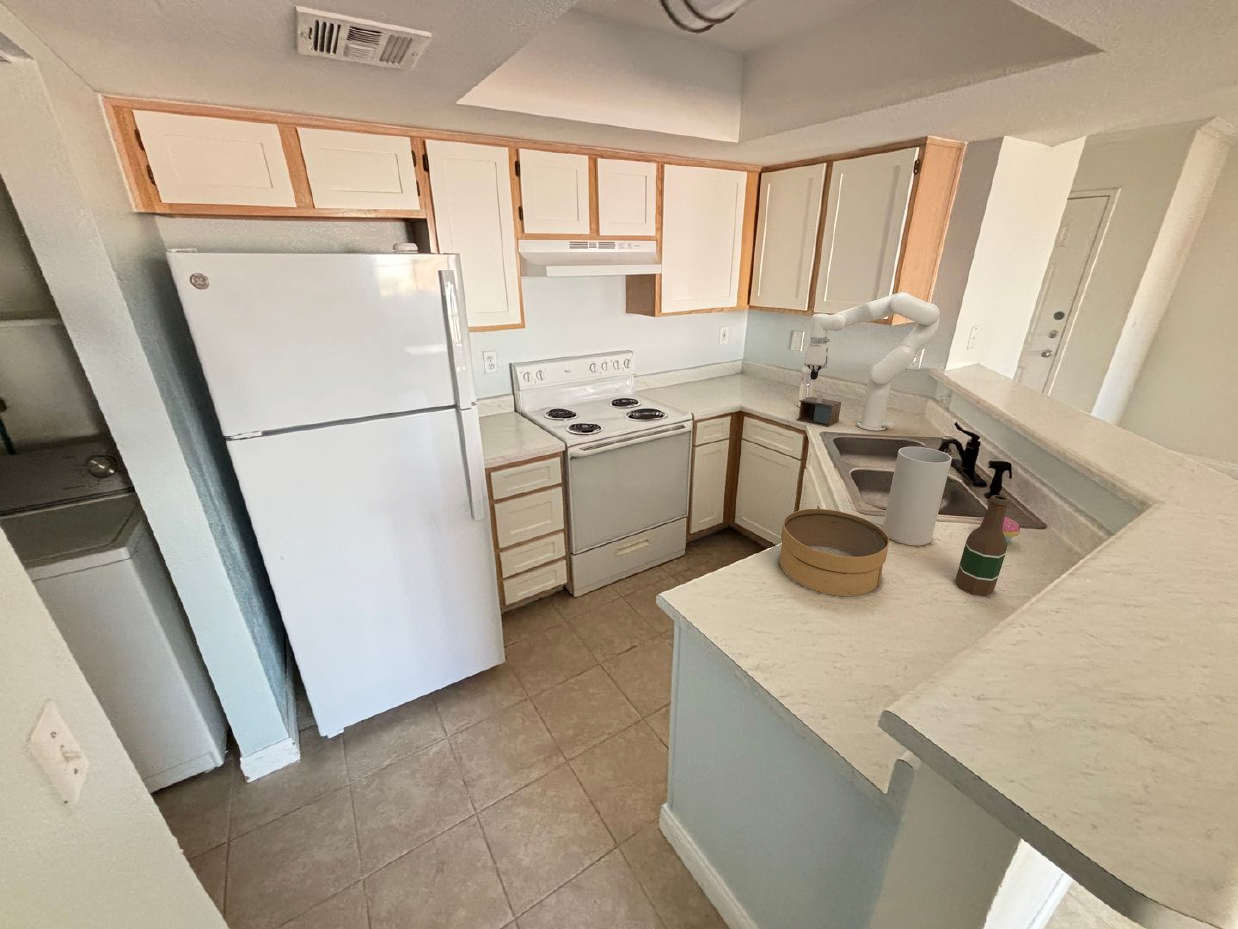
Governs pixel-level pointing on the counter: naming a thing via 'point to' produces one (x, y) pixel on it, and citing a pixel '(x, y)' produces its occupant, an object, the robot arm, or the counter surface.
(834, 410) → the cabinet
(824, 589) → the steamer basket
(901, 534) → the cylinder vase
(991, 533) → the beer bottle
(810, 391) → the water bottle
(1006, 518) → the cupcake
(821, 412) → the glass door
